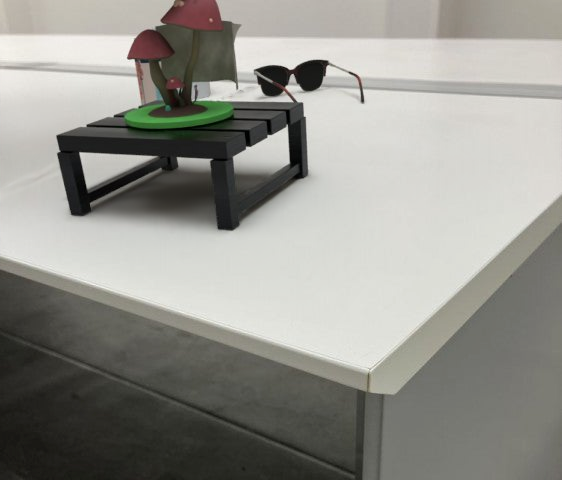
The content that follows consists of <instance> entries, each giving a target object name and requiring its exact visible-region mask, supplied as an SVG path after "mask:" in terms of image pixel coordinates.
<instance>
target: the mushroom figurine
mask: <svg viewBox="0 0 562 480" xmlns="http://www.w3.org/2000/svg"><path fill="white" fill-rule="evenodd" d="M160 23H161V24H160V25H157V26H154V27H155V29H156V31H155V30H152V28H151V29H149V28H147V29H144V30H142V31H141V32H139V33H138V34H137V36H136V37H134V38H135V40H134V39H133V42H132V43H131V46H130V48H129V51H128V54H127V55H126V59H127V60H129V61H130V60H131V61H132V60H134V59H138V60H149V67H150V75H151V79H152V81H153V83H154V84H155V86H156V87H157V89H158V90H159V92H160V94H161V96H162V98H163V101H164V103H163V104H157V105H151V106H147V107H143V108H139V109H136V110H133V111H130V112H128V113H127V114H126V115H125V123H126V124H127V125H129V126H132V127H137V128H147V129H168V128H182V127H191V126H198V125H203V124H209V123H213V122H217V121H220V120H223V119H226V118H228V117H230V116H232V115H233V113H234V108H233V105H232V104H229V103H226V102H220V101H221V100H212V101H211V100H198V99H197V96H198V90H197V85H196V86H195V85H194V88H195V87H196V89H195V100H191V95H192V82H210V83H212V82H220V81H231V82H233V83H234V84H235V90H236V91H238V90H239V82H238V81H239V80H238V79H239V78H238V70H237V69H238V68H237V67H238V66H237V58H236V50H235V42H236V37H237V34H238V31H239V30H240V28H241V26H242V24H240V23H234V22H233V21H231V20H222V17H221V11H220V8H219V5H218V3H217V1H216V0H174V1H173V4H172V6H171V7H170V8H169V9H168V10H167V11H166V13H165V14H164V15H163V16H162V17H161V18H160ZM158 59H161V67H160V65H159V62H158ZM177 88H180V89H179V94H178V90H177ZM181 90H182V92H181Z"/></svg>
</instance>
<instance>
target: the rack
mask: <svg viewBox="0 0 562 480" xmlns="http://www.w3.org/2000/svg"><path fill="white" fill-rule="evenodd" d="M219 101H220V102H226V103H229V104H232V105H233V108H234V113H233V115H232V116H230V117H228V118H226V119H223V120H220V121H217V122H213V123H209V124H203V125H198V126H191V127H182V128H168V129H147V128H137V127H132V126H129V125H127V124H126V123H125V115H126V114H127V113H128V112H130V111H133V110H136V109H139V108H143V107H147V106H151V105H157V104H163V103H164V101H163V100H155V101H153V102H150V103H147V104H144V105H142V104H141V105H138V107H133V108H130V109H127V110H124V111H121V112H119V113H116V114H113V116H107V117H103V118H101V119H98V120H95V121H93V122H90V123H87V124H85V126H78V127H76V128H73V129H70V130H67V131H64V132H61V133H58V134H56V135H55V138H56V141H57V146H58V150H59V151H58V152H56V156H57V160H58V165H59V169H60V174H61V178H62V182H63V187H64V190H65V194H66V199H67V204H68V209H69V212H70V215H72V216H80V217H81V216H82V217H83V216H85V215H87V214H89V213H91V212H92V205H91V203H93V202H95V201H98V200H100V199H101V198H104V197H106V196H107V195H109V194H111V193H114V192H116V191H118V190H120V189H122V188H124V187H126V186H127V185H130V184H132V183H133V182H136V181H138V180H140V179H142V178H144V177H146V176H148V175H150V174H152V173H154V172H156V171H158V170H162V171H174V170H175V169H178V168H179V161H178V158H181V159H182V158H184V159H202V160H203V159H204V160H209V164H210V166H209V167H210V174H211V183H212V191H213V200H214V209H215V217H216V226H217V229H218V230H229V231H233V230H234V229H236V228H237V227H239V226H240V215H241V214H242V213H244V212H245V211H247V210H248V209H249V208H251V207H252V206H254V205H256V204H257V203H258V202H259V201H261V200H262V199H264V198H265V197H267V196H268V195H270V194H271V193H272V192H274V191H275V190H276V189H278V188H279V187H280V186H282V185H283V184H285V183H286V182H288V181H289V180H290V179H293V178H296V179H304V178H305V177H307V176H308V175H309V161H308V160H309V159H308V141H307V140H308V138H307V137H308V136H307V116H305V110H304V109H305V107H304V102H302V101H297V102H293V101H241V100H240V101H235V100H234V101H233V100H219ZM286 128H287V135H288V136H287V137H288V138H287V140H288V156H289V157H288V159H289V163H288V164H286V165H285V166H282V168H280V169H279V170H277V171H275V172H274V173H273V174H271V175H269V176H268V177H267V178H265V179H263V180H262V181H261V182H259V183H258V184H256V185H255V186H253V187H251V188H250V189H249V190H247V191H245V192H244V193H242V194H241V195H239V196H238V195H237V194H238V193H237V183H236V173H235V164H234V162H235V161H234V157H236V156H237V155H240V153H243V152H245V151H246V150H247V148H252V147H254V146H255V145H257V144H259V143H261V142H262V141H264V140H266V139H268V137H269V136H273V135H275V134H277V133H278V132H280V131H282V130H284V129H286ZM80 153H84V154H103V155H123V156H143V157H154V158H151V159H150V160H148V161H145V162H144V163H141V164H140V165H137V166H135V167H133V168H131V169H129V170H126V171H124V172H122V173H120V174H118V175H115V176H114V177H111V178H110V179H109V178H108V179H107V180H105V181H103V182H101V183H99V184H97V185H94V186H92V187H90V188H88V187H87V182H86V177H85V173H84V169H83V163H82V158H81V154H80Z"/></svg>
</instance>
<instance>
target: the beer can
mask: <svg viewBox="0 0 562 480" xmlns="http://www.w3.org/2000/svg"><path fill="white" fill-rule="evenodd" d="M135 38H136V37H134V38H133V41H134V40H135ZM133 60H134V67H135V72H136V79H137V86H138V90H139V96H140V103H141V105H144V104H147V103H150V102H153V101H155V100H163V98H162V96H161V94H160V92H159V90H158V89H157V87H156V86H155V84H154V83H153V81H152V79H151V75H150V67H149V60H138V59H133ZM158 62H159V65H160V67H161V59H158Z"/></svg>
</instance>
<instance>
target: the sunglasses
mask: <svg viewBox="0 0 562 480" xmlns="http://www.w3.org/2000/svg"><path fill="white" fill-rule="evenodd" d="M328 66H330V67H333V68H336V69H337V70H340V71H342V72H345V73H346V74H349V75H351V76H353V77H354V78H356V80H357V82H358V86H359V92H360V103H361V104H363V103H364V102H365V95H364V90H363V83H362V80H361V77H360V76H359V75H358V74H357V73H355V72H352V71H350V70H347V69H345V68H343V67H341V66H338V65H336V64H334V63H333V62H330V61H329V60H327V59H309V60H306V61H304V62H301V63H299V64H297V65H296V66H295V67H294V68H293V69H290V68H288V67H287V66H284V65H279V64H268V65H264V66H260V67H257V68H255V69H253V75H255V76H256V80H257V85H258V86H260V90H261V92H262V94H263V95H264V96H266V97H271V98H274V97H279V96H281V95H282V94H283V93H285V94H286V95H287V96H288V97H289V98H290V100H291V102H298V100H297V99H296V98H295V97H294V96H293V95H292V93H291V92H290V91H289V90H288V89H287V88H286V87H287V86H289V83H290V79H291V76H292V75H293V76H294V79H295V82H296V84H297V85H298V86H299V87H300V89H301V90H302V91H303V92H306V93H310V92H314V91H317V90H319V89H320V88H321V87H322V85H323V82H324V77H326V76H327V68H328Z"/></svg>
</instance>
